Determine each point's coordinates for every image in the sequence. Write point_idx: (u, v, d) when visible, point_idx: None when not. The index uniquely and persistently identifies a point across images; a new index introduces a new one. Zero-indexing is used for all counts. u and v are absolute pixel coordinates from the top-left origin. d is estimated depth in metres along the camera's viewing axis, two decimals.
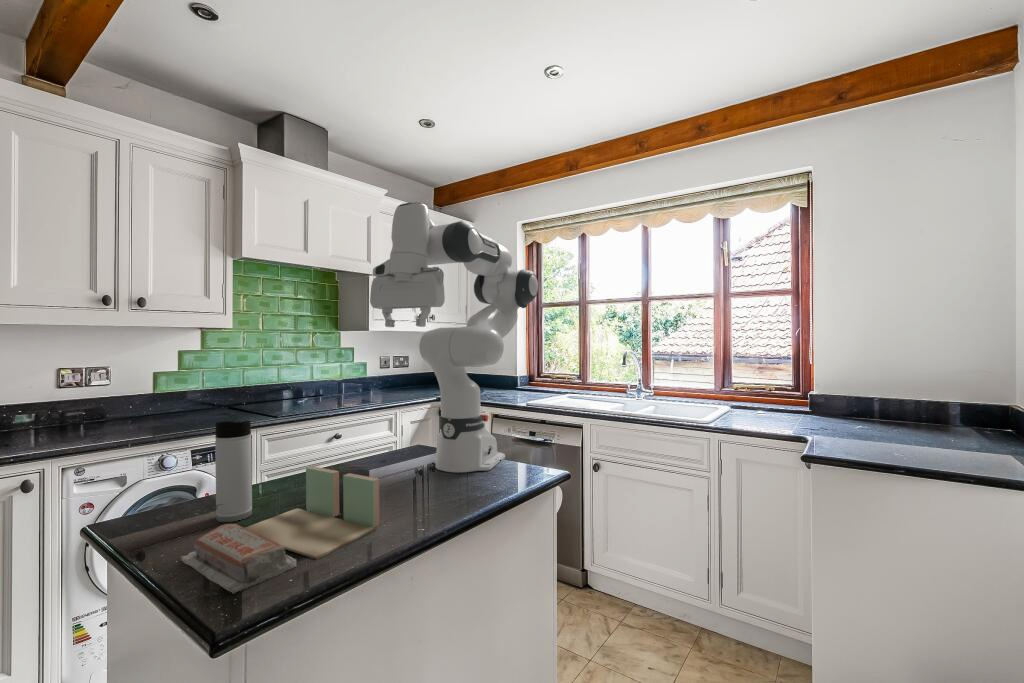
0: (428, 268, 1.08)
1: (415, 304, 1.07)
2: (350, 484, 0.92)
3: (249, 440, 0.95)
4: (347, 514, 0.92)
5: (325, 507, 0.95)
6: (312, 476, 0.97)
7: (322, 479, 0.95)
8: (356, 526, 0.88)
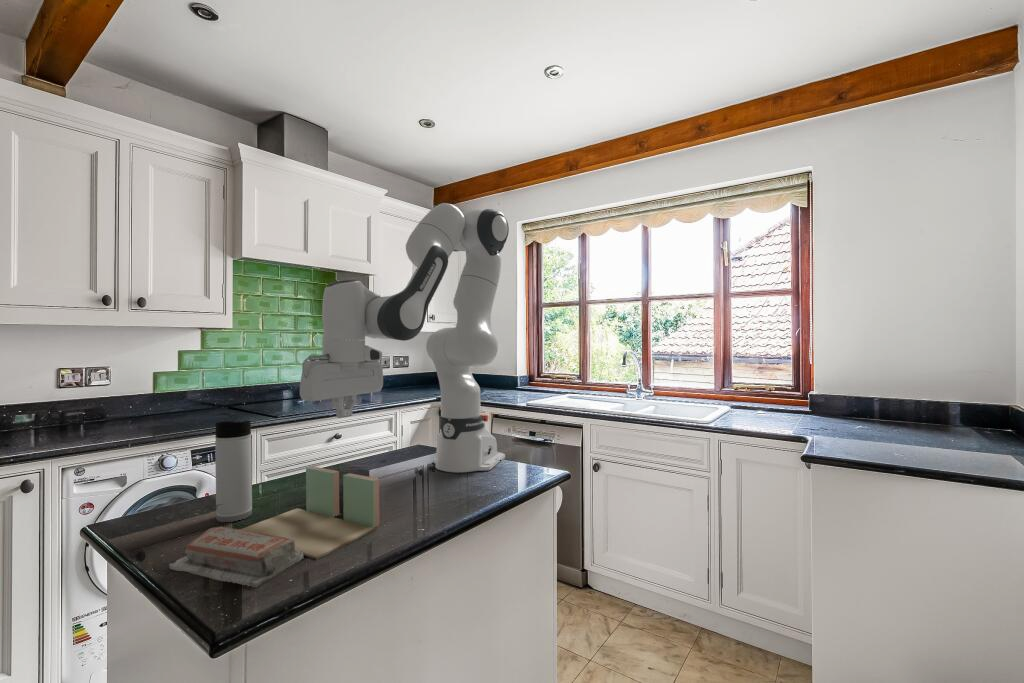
0: None
1: None
2: (350, 484, 0.92)
3: (249, 440, 0.95)
4: (347, 514, 0.92)
5: (325, 507, 0.95)
6: (312, 476, 0.97)
7: (322, 479, 0.95)
8: (356, 526, 0.88)
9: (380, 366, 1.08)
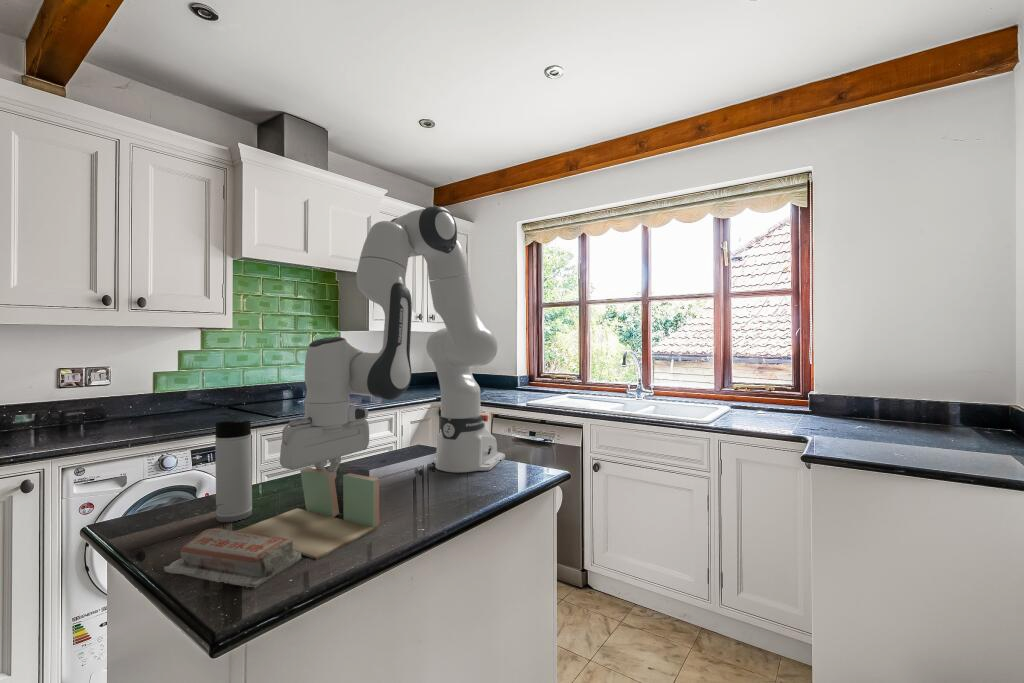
0: None
1: None
2: (350, 484, 0.92)
3: (249, 440, 0.95)
4: (347, 514, 0.92)
5: (324, 508, 0.95)
6: (307, 478, 0.96)
7: (317, 481, 0.94)
8: (356, 526, 0.88)
9: (366, 423, 1.04)
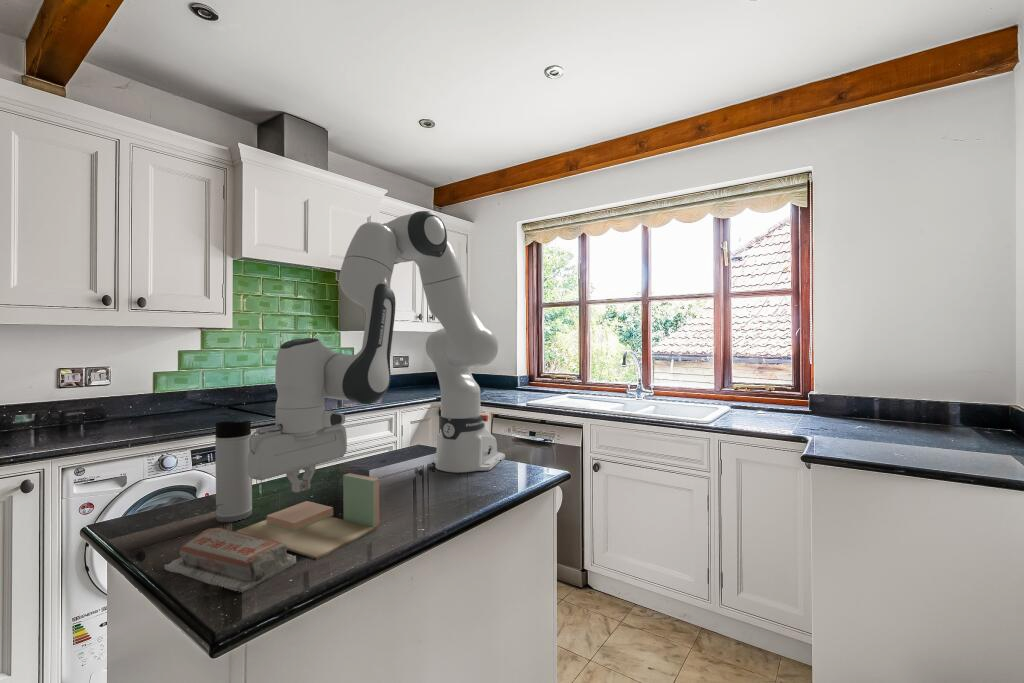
0: None
1: None
2: (350, 484, 0.91)
3: None
4: (347, 514, 0.92)
5: None
6: None
7: None
8: (356, 526, 0.88)
9: (343, 429, 0.98)
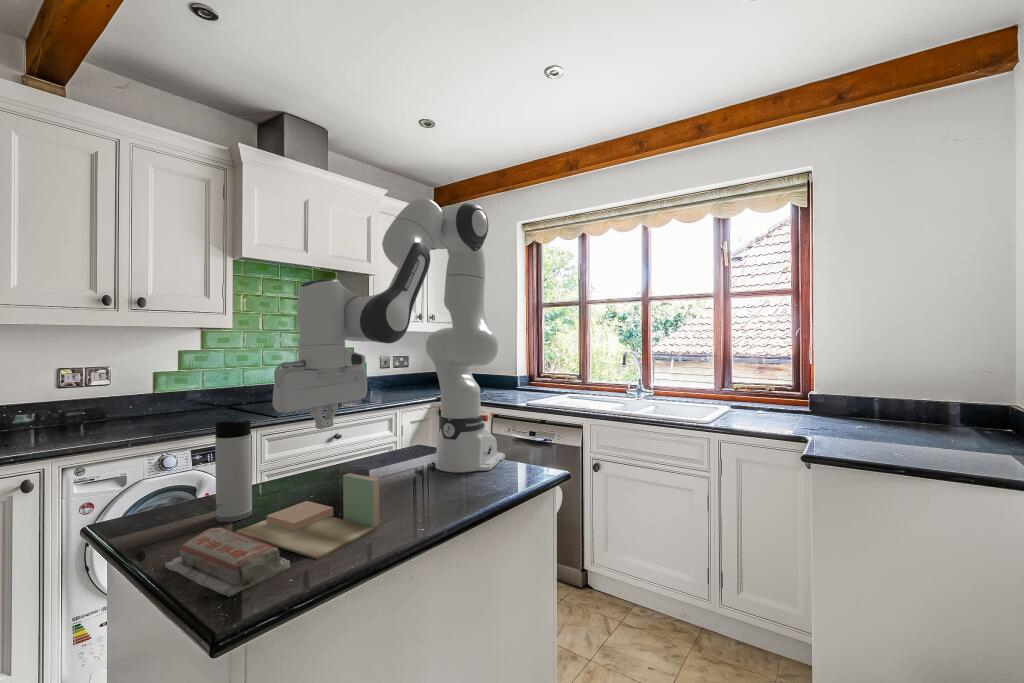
0: None
1: None
2: (350, 484, 0.91)
3: (249, 440, 0.95)
4: (347, 514, 0.92)
5: None
6: None
7: None
8: (356, 526, 0.88)
9: (363, 371, 1.00)
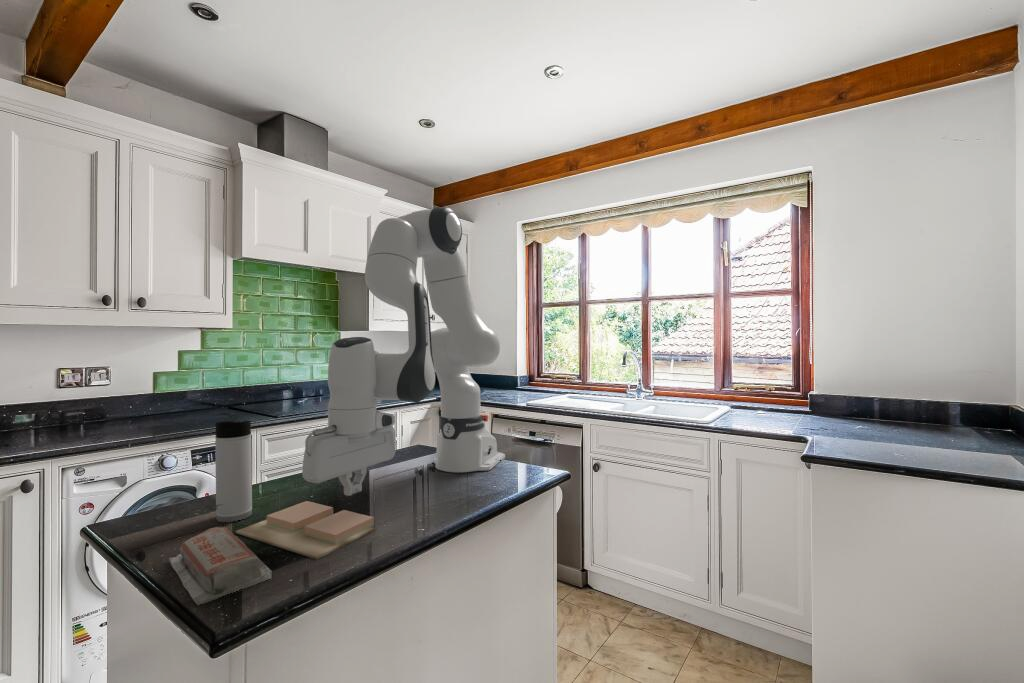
0: None
1: None
2: None
3: (249, 440, 0.95)
4: None
5: None
6: None
7: None
8: None
9: (393, 431, 0.96)
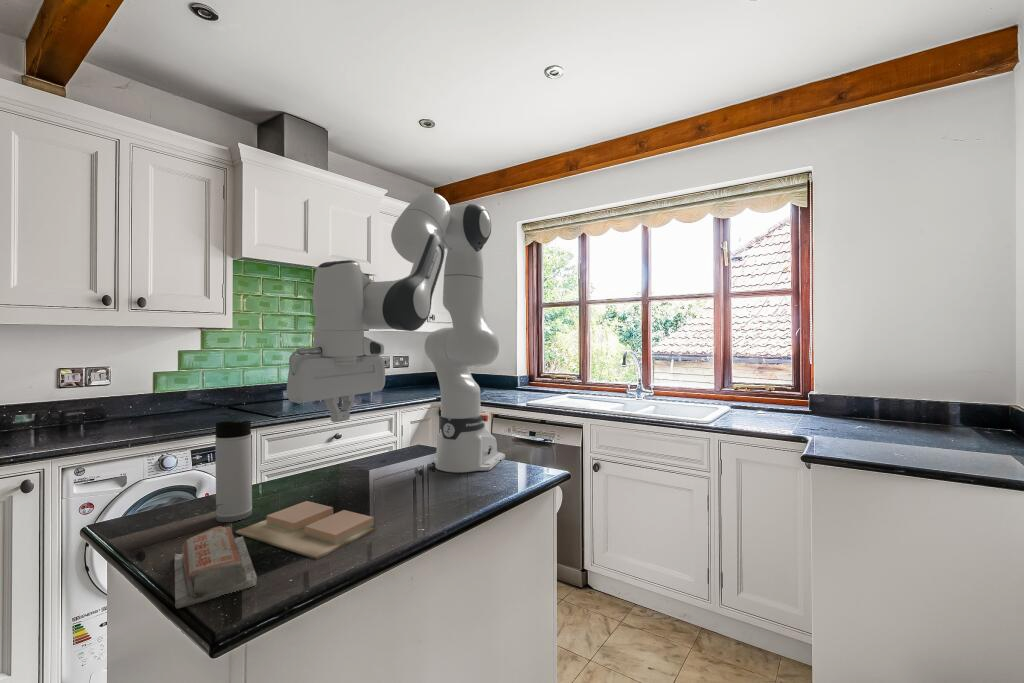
0: None
1: None
2: None
3: (249, 440, 0.95)
4: None
5: None
6: None
7: None
8: None
9: (382, 361, 0.93)
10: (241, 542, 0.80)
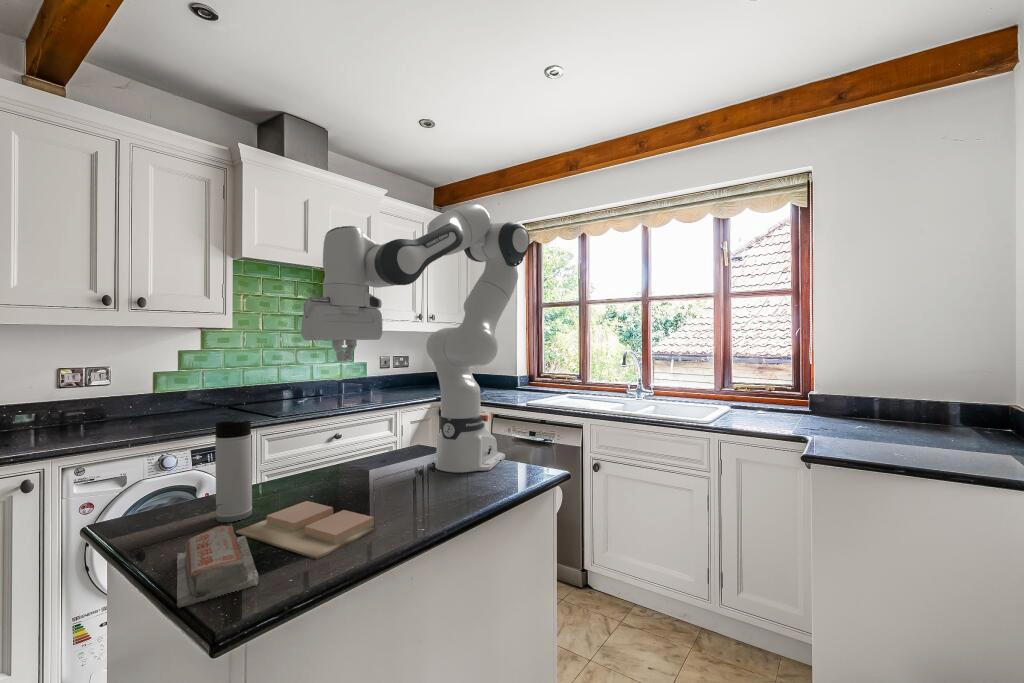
0: None
1: None
2: None
3: (249, 440, 0.95)
4: None
5: None
6: None
7: None
8: None
9: (379, 314, 1.10)
10: (244, 542, 0.80)
